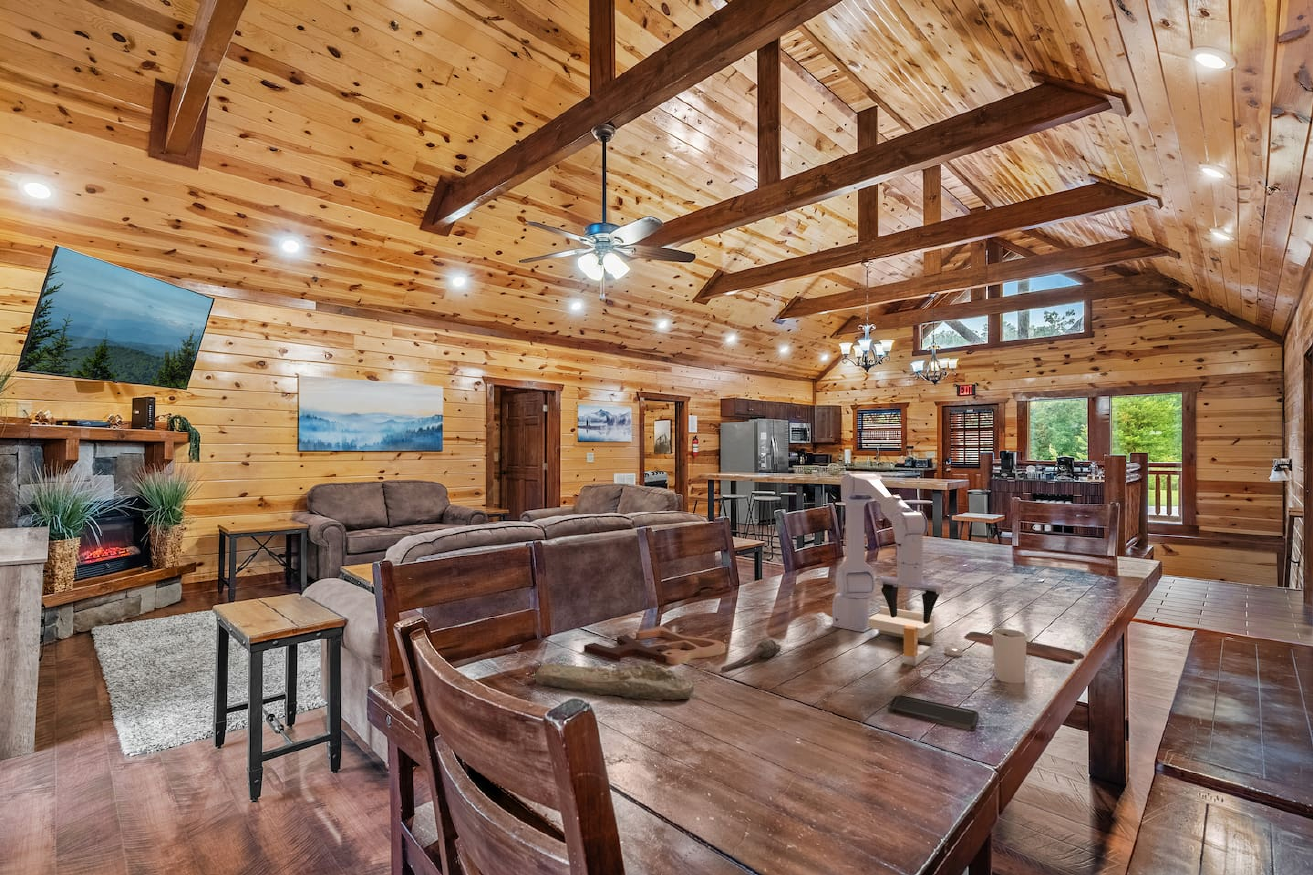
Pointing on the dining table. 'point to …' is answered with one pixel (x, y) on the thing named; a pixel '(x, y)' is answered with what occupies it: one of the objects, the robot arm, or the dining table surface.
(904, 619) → the cream shelf
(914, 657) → the blade tool
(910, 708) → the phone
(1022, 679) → the white cup
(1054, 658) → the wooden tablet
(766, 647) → the natural artifact
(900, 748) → the dining table surface
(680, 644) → the wood carving
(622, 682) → the elongated rock
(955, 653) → the disc
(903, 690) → the dining table surface
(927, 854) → the dining table surface
